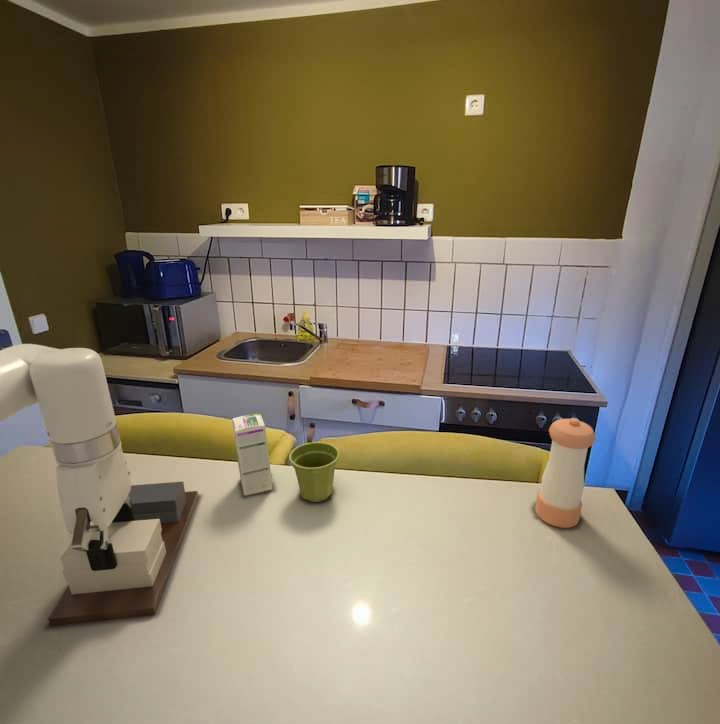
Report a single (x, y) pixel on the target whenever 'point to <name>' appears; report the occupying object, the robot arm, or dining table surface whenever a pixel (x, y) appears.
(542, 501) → the pepper shaker
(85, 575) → the white stack
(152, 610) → the shelf board
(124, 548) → the white book
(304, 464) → the plant pot
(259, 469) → the syrup box
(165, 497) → the grey stack
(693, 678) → the dining table surface
